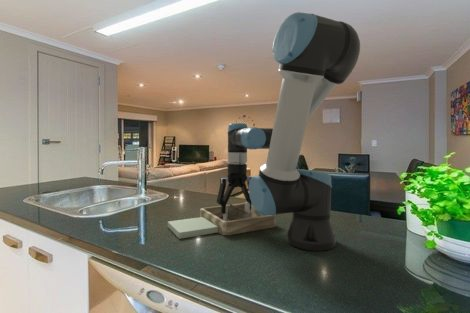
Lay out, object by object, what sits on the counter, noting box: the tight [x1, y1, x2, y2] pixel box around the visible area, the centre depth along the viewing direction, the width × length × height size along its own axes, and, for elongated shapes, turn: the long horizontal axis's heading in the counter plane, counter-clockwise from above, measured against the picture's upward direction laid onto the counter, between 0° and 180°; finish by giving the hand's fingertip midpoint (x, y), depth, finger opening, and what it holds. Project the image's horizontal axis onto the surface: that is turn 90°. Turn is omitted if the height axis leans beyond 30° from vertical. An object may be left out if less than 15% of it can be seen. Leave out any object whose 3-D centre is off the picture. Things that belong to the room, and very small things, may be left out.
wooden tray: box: [199, 202, 277, 236], centre depth 108 cm, size 22×22×4 cm
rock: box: [228, 203, 251, 221], centre depth 106 cm, size 11×6×10 cm
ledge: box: [167, 216, 219, 240], centre depth 99 cm, size 14×14×2 cm
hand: (236, 220), depth 108 cm, fingers closed on rock, 9 cm apart
